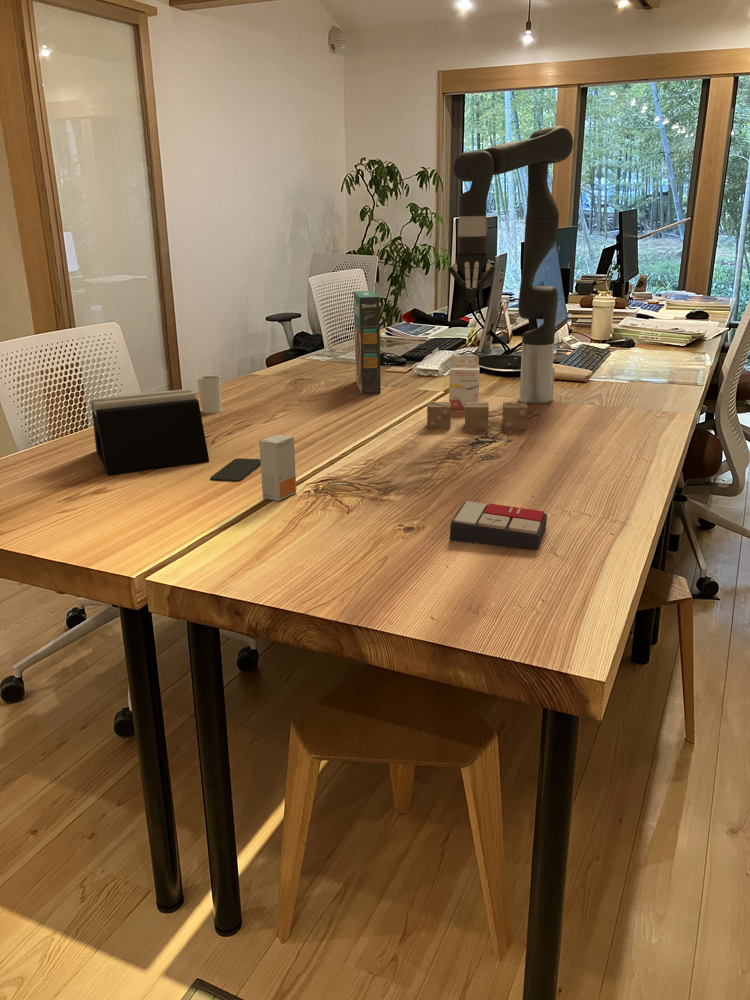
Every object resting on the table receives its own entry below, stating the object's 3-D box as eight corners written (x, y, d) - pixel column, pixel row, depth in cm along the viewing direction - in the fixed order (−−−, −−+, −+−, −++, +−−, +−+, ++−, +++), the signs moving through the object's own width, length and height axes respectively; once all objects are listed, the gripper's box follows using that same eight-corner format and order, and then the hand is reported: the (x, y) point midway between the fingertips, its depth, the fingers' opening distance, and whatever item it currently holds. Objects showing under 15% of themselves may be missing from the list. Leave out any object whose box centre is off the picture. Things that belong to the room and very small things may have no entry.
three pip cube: (428, 423, 211) (428, 401, 209) (450, 423, 210) (450, 401, 208) (427, 429, 205) (427, 406, 203) (450, 429, 205) (450, 406, 203)
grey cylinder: (220, 413, 226) (217, 379, 223) (198, 414, 226) (194, 379, 223) (225, 408, 233) (222, 375, 229) (203, 408, 233) (200, 375, 229)
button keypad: (539, 531, 128) (450, 518, 132) (536, 555, 129) (448, 541, 134) (548, 509, 138) (464, 497, 142) (545, 532, 139) (463, 519, 144)
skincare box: (279, 502, 154) (275, 443, 150) (262, 498, 156) (258, 440, 152) (297, 493, 159) (294, 436, 155) (281, 490, 161) (277, 433, 157)
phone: (208, 478, 168) (235, 458, 181) (208, 482, 168) (235, 461, 182) (240, 480, 166) (265, 459, 180) (240, 483, 166) (265, 462, 180)
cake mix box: (355, 381, 268) (353, 291, 258) (373, 380, 269) (371, 290, 259) (361, 394, 248) (359, 297, 238) (380, 393, 249) (379, 296, 238)
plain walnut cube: (465, 424, 210) (465, 402, 208) (487, 424, 209) (488, 402, 207) (464, 429, 204) (465, 407, 202) (488, 429, 204) (488, 407, 202)
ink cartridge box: (448, 409, 226) (449, 358, 221) (449, 405, 231) (449, 355, 226) (478, 409, 225) (480, 358, 220) (478, 405, 230) (479, 355, 225)
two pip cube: (502, 424, 209) (503, 401, 207) (525, 424, 208) (526, 401, 206) (503, 430, 203) (504, 406, 201) (526, 430, 202) (527, 407, 200)
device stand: (209, 463, 181) (203, 399, 176) (108, 477, 172) (98, 410, 167) (188, 440, 200) (182, 382, 195) (96, 452, 191) (87, 391, 186)
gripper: (446, 235, 202) (446, 304, 208) (498, 234, 200) (496, 303, 206) (447, 234, 209) (446, 301, 215) (497, 233, 207) (495, 300, 213)
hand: (471, 302), depth 211 cm, fingers closed
